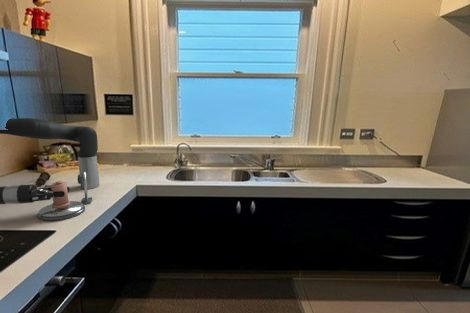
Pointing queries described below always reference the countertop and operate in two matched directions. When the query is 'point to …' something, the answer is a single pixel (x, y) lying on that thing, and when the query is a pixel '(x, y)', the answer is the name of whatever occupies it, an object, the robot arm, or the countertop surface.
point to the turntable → (61, 210)
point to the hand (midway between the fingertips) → (66, 191)
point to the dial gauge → (83, 180)
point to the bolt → (43, 178)
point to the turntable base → (61, 217)
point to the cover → (60, 201)
